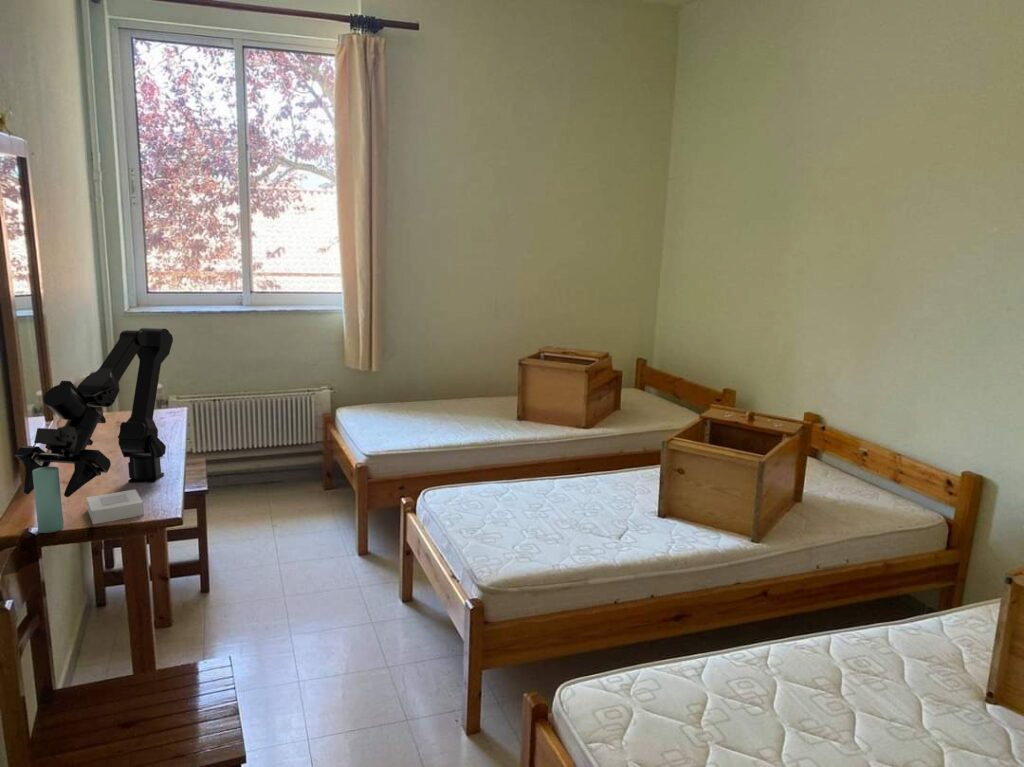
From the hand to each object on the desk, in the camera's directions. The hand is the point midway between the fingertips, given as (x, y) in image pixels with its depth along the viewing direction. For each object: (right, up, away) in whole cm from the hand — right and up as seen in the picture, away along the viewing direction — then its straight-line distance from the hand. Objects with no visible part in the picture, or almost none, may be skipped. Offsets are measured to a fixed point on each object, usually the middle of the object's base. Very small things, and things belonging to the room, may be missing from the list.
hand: (45, 495), depth 153 cm
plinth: (+9, -6, +11) cm, 15 cm away
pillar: (0, -7, +2) cm, 8 cm away
